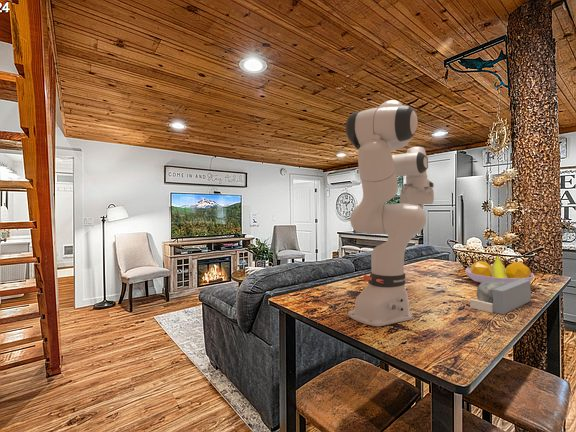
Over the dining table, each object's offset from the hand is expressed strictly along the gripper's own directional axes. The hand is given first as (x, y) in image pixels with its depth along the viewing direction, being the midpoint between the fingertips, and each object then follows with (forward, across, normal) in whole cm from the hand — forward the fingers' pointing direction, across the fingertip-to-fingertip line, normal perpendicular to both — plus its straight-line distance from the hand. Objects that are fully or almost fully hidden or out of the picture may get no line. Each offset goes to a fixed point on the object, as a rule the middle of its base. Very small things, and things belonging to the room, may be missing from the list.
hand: (417, 214), depth 131 cm
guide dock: (+34, +6, -30) cm, 46 cm away
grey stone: (+34, +6, -27) cm, 44 cm away
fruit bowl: (+34, +37, -17) cm, 53 cm away
